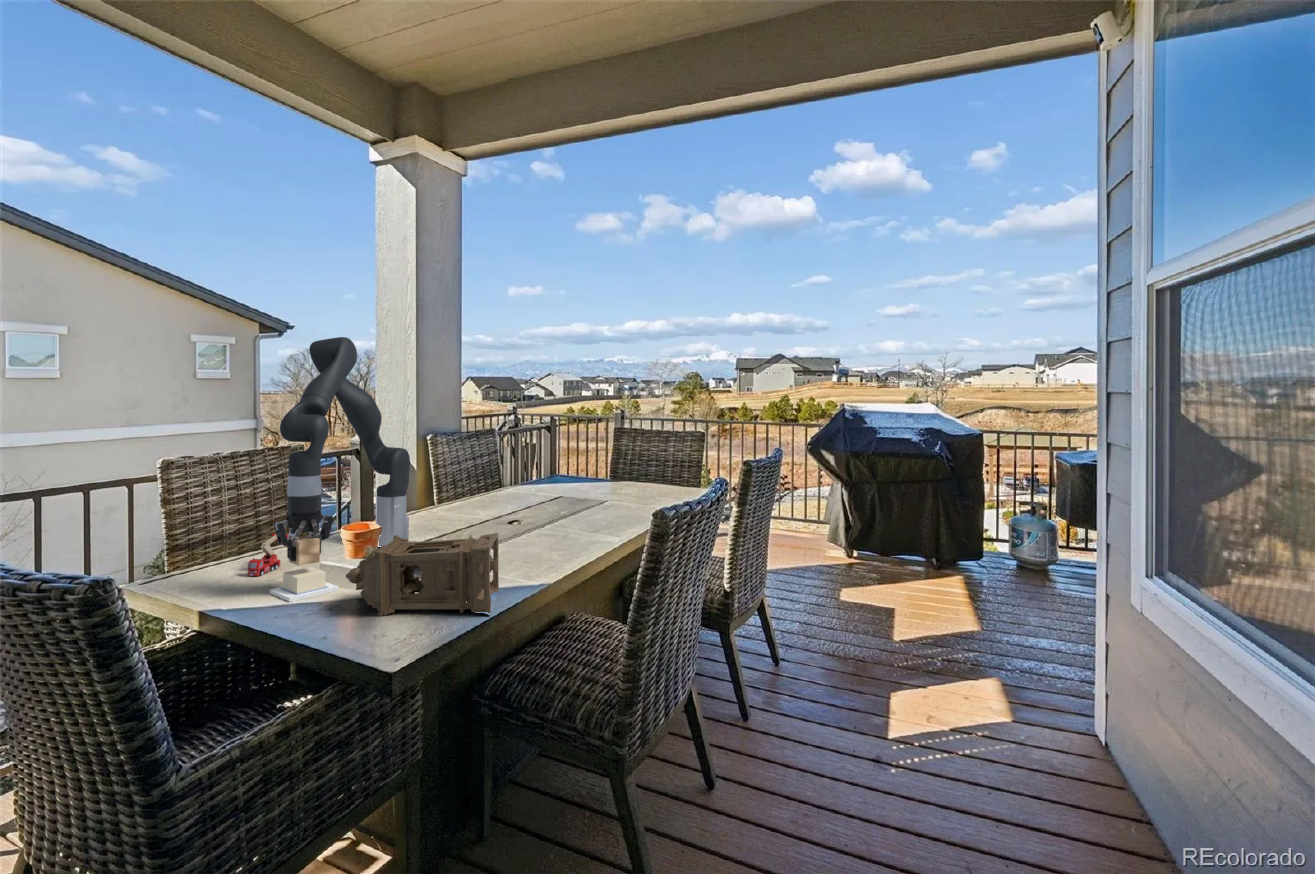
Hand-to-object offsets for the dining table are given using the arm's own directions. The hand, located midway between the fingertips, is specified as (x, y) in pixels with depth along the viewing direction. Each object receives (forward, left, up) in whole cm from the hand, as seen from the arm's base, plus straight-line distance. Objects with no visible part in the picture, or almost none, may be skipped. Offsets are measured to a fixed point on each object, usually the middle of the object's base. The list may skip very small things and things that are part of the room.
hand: (304, 558), depth 154 cm
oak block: (0, 0, -1) cm, 1 cm away
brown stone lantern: (-13, +31, -9) cm, 34 cm away
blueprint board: (0, 0, -9) cm, 9 cm away
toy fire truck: (-3, -26, -9) cm, 28 cm away
